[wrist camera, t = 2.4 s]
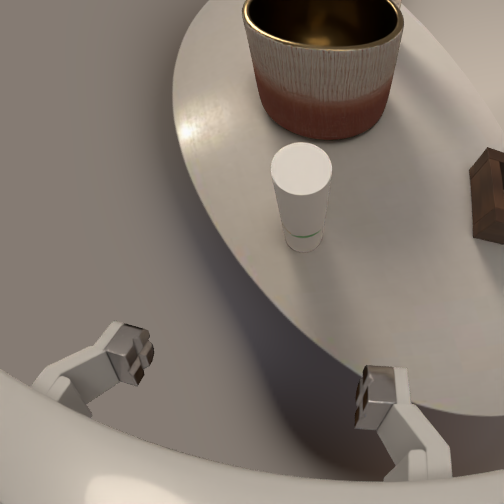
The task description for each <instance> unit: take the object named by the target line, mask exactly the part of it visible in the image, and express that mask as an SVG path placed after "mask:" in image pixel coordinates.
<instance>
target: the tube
mask: <svg viewBox="0 0 504 504" xmlns="http://www.w3.org/2000/svg"><path fill="white" fill-rule="evenodd" d="M331 174H332V165H331V161H330V159H329V157H328V155H327V154H326V153H325V152H324V151H323V150H322V149H321V148H319V147H318V146H315V145H313V144H310V143H303V142H299V143H293V144H289V145H287V146H285V147H283V148H282V149H280V150H279V151H278V152H277V153H276V155H275V156H274V158H273V160H272V163H271V175H272V179H273V184H274V189H275V193H276V198H277V203H278V207H279V212H280V217H281V222H282V226H283V231H284V236H285V240H286V242H287V244H288V245H289V247H291V248H292V249H293V250H295V251H298V252H309V251H312V250H314V249H315V248H317V247H318V245H319V244H320V242H321V240H322V236H323V229H324V223H325V217H326V210H327V203H328V196H329V189H330V182H331Z"/></svg>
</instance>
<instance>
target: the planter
mask: <svg viewBox="0 0 504 504" xmlns="http://www.w3.org/2000/svg"><path fill="white" fill-rule="evenodd" d="M242 17H243V21H244V26H245V30H246V34H247V39H248V43H249V48H250V52H251V57H252V62H253V67H254V72H255V77H256V82H257V87H258V92H259V95H260V99H261V102H262V105H263V107H264V109H265V111H266V112H267V113H268V115H269V116H270V117H271V118H272V119H273V120H274V121H275V122H276V123H277V124H279V125H280V126H282V127H283V128H285V129H287V130H289V131H291V132H293V133H295V134H298V135H301V136H304V137H308V138H313V139H320V140H338V139H345V138H349V137H353V136H356V135H359V134H361V133H363V132H365V131H367V130H368V129H370V128H371V127H372V126H374V125H375V124H376V123H377V121H378V120H379V119H380V117H381V116H382V114H383V112H384V109H385V106H386V103H387V100H388V96H389V92H390V88H391V84H392V79H393V75H394V70H395V65H396V61H397V56H398V52H399V47H400V42H401V37H402V33H403V27H404V19H403V15H402V13H401V11H400V9H399V8H398V7H397V5H396V4H395V3H394V2H393V1H392V0H246V1H245V3H244V5H243V8H242Z"/></svg>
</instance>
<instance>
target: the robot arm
mask: <svg viewBox="0 0 504 504" xmlns="http://www.w3.org/2000/svg"><path fill="white" fill-rule="evenodd" d="M149 337H150V334H149V331H148V330H146V329H143V328H139V327H136V326H132V325H128V324H125V323H121V322H117V321H114V322H112V323H111V324H110V325H109V327H108V328H107V329H106V330H105V332H104V333H103V334H102V336H101V337H100V338H99V339H98V341H97V342H96V343H95V345H94V346H93V347H91V346H89V347H87V348H85V349H83V350H81V351H78V352H76V353H74V354H72V355H70V356H68V357H66V358H64V359H61V360H59V361H57V362H55V363H53V364H51V365H49V366H47V367H45V369H44V370H43V371H42V373H41V374H40V375H39V376H38V378H37V379H36V380H35V381H34V383H33V384H32V385H31V387H29V386H27V385H26V384H24V383H22V382H21V381H19V380H18V379H16V378H14V377H13V376H11V375H10V374H8V373H6V372H5V371H3V370H2V369H0V504H504V469H503V470H497V471H492V472H487V473H481V474H475V475H468V476H461V477H453V478H452V467H451V456H450V447H449V446H448V444H447V443H446V442H445V441H444V440H443V438H442V437H441V436H440V434H439V433H438V432H437V431H436V430H435V428H434V427H433V426H432V425H431V423H430V422H429V421H428V420H427V419H426V417H425V416H424V415H423V414H422V412H421V411H420V410H419V409H418V408H417V406H416V405H415V404H411V395H410V387H409V379H408V372H407V369H406V368H403V367H389V366H373V365H366V366H365V368H364V370H363V378H361V379H360V381H359V383H358V387H357V391H356V405H357V406H358V409H357V410H356V413H355V429H367V430H377V433H378V435H379V437H380V438H381V440H382V442H383V444H384V445H385V447H386V449H387V451H388V452H389V454H390V456H391V458H392V460H393V461H394V463H395V465H396V466H395V468H393V469H392V470H391V471H390V473H388V474H387V476H385V477H384V482H360V481H359V482H358V481H339V480H325V479H315V478H305V477H297V476H288V475H282V474H275V473H269V472H263V471H258V470H252V469H247V468H242V467H238V466H233V465H229V464H224V463H220V462H215V461H212V460H208V459H204V458H200V457H196V456H193V455H189V454H186V453H183V452H179V451H176V450H173V449H170V448H166V447H163V446H160V445H157V444H154V443H151V442H148V441H146V440H143V439H140V438H138V437H135V436H132V435H129V434H127V433H124V432H122V431H119V430H117V429H114V428H112V427H110V426H107V425H105V424H103V423H100V422H98V421H96V420H93V419H91V417H92V412H91V411H90V410H89V408H88V407H87V405H86V404H88V403H89V402H91V401H92V400H93V399H95V398H97V397H98V396H100V395H101V394H103V393H104V392H106V391H107V390H109V389H110V388H112V387H113V386H115V385H116V384H118V383H119V381H121V382H124V383H127V384H131V385H134V386H138V385H139V383H140V381H141V379H142V378H143V376H144V370H143V369H145V368H147V367H148V366H150V364H151V362H152V360H153V356H154V348H153V344H152V343H151V342H150V341H149V340H148V339H149Z"/></svg>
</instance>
